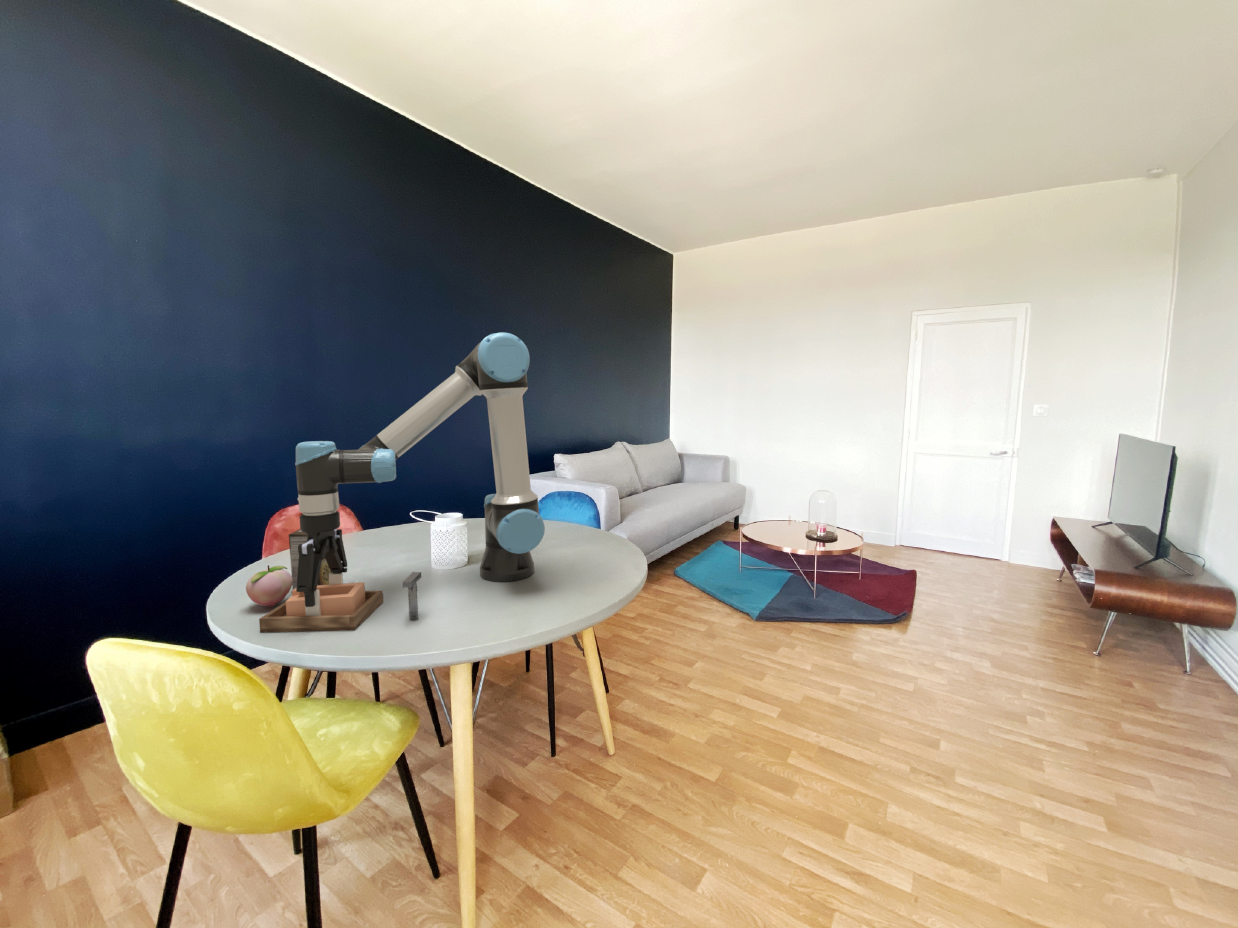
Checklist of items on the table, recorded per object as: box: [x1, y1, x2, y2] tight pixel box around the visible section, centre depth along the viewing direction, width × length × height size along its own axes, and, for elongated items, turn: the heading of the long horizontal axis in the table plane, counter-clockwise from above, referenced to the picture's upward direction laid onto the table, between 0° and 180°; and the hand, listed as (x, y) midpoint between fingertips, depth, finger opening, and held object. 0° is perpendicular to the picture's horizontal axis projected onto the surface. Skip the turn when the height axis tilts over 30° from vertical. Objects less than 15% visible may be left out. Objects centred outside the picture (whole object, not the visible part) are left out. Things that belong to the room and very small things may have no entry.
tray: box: [258, 590, 384, 634], centre depth 110 cm, size 19×15×3 cm
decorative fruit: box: [245, 564, 293, 607], centre depth 115 cm, size 9×8×10 cm
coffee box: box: [288, 528, 333, 591], centre depth 125 cm, size 9×6×16 cm
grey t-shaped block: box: [402, 571, 422, 622], centre depth 109 cm, size 2×6×10 cm, turn 4°
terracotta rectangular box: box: [285, 581, 366, 616], centre depth 110 cm, size 13×9×6 cm
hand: (326, 609), depth 110 cm, fingers closed on terracotta rectangular box, 9 cm apart
